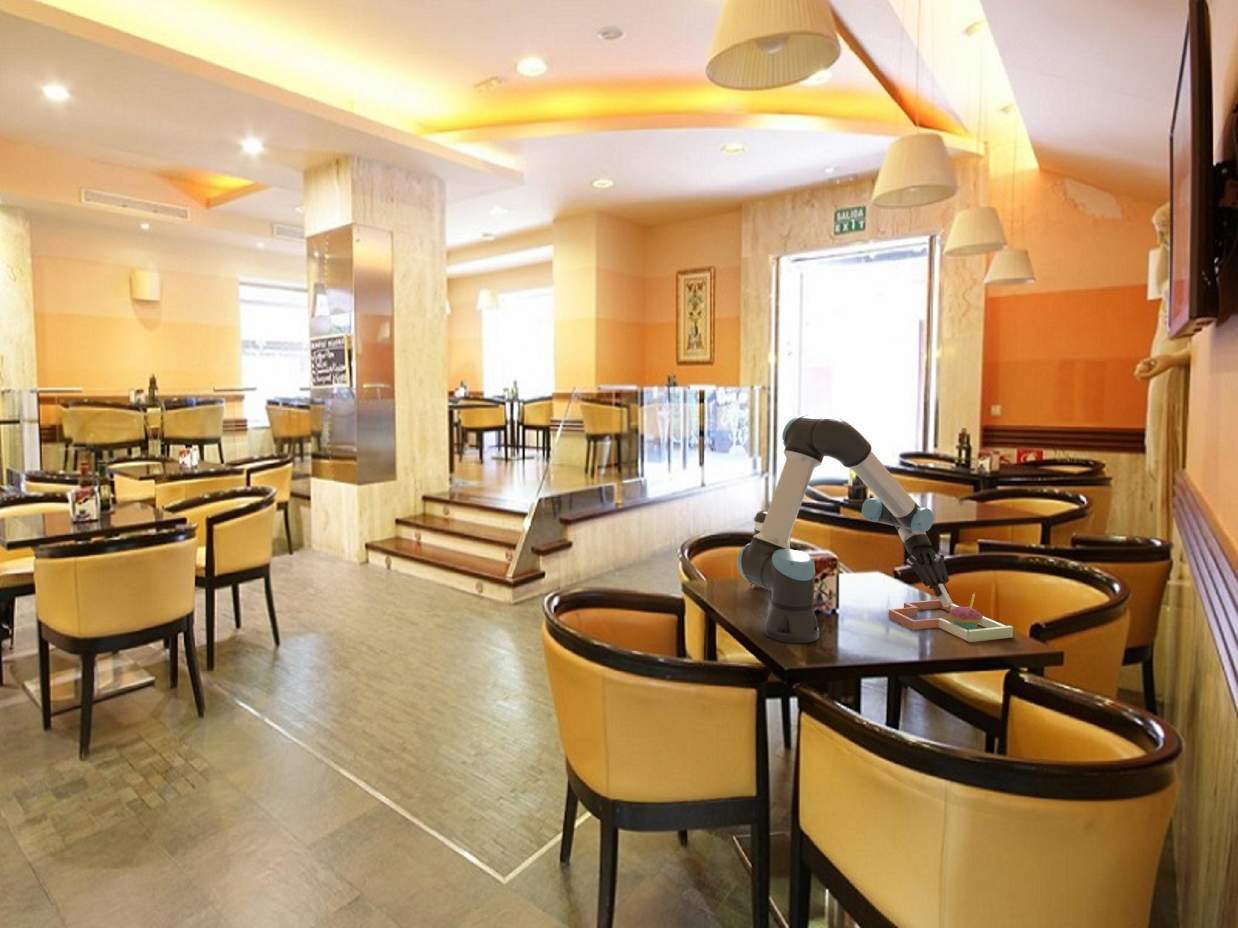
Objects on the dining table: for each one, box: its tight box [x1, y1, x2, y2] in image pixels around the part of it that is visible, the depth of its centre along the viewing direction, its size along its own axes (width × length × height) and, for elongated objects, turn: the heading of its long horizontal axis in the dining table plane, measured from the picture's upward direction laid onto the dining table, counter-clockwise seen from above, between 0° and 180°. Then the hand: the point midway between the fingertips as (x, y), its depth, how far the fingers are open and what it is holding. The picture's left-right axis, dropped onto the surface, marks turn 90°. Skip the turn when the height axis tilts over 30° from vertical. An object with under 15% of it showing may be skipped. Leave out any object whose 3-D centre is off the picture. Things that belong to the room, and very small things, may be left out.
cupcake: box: [948, 591, 984, 630], centre depth 199 cm, size 9×8×12 cm
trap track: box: [887, 599, 1014, 643], centre depth 205 cm, size 23×28×3 cm
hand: (948, 604), depth 209 cm, fingers closed
